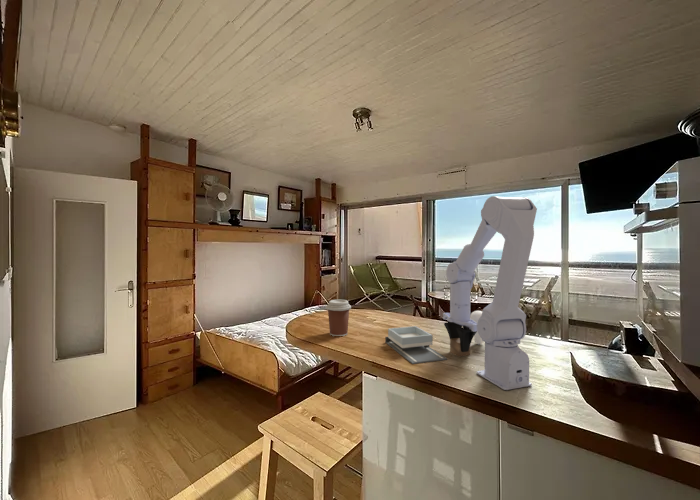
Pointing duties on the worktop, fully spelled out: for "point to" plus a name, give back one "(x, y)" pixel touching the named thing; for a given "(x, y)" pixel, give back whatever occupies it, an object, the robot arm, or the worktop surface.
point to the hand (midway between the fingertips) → (459, 348)
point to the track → (416, 353)
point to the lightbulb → (475, 318)
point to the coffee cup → (338, 317)
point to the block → (457, 347)
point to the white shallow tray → (410, 337)
